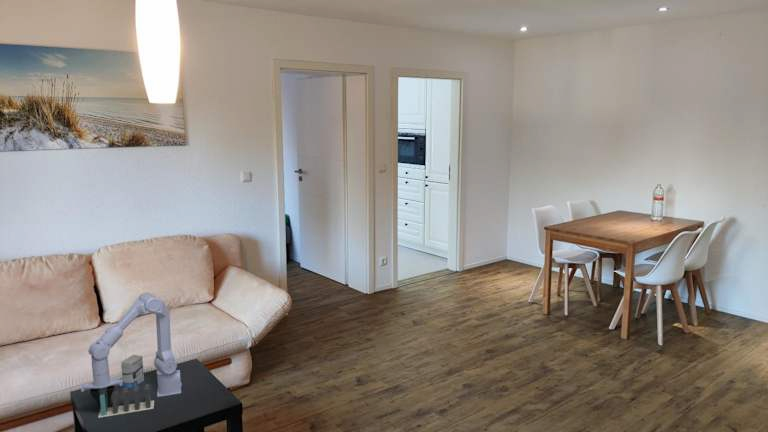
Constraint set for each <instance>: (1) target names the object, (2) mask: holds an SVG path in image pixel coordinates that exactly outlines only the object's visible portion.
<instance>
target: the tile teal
mask: <svg viewBox="0 0 768 432" xmlns="http://www.w3.org/2000/svg"><path fill="white" fill-rule="evenodd" d="M99 398H100V409H101V414H102V416H104V415H106V414H107V410H108V408H109V407H108V397H107V391H106V390H101V391H100V394H99Z"/></svg>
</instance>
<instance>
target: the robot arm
mask: <svg viewBox="0 0 768 432" xmlns="http://www.w3.org/2000/svg"><path fill="white" fill-rule="evenodd" d="M148 313H150V314H155V320H156V321H155V322H156V323H155V324H156V343H157V346H156V347H157V351H156V352H155V358H154V361H153V366H154V367H155V368H156V379H157V392H156V395H157V396H156V397H157V398H161V397H166V396H172V395H179V394H182V387H183V383H182V380H181V378H182V377H181V370H180V369H177V368H178V364H177V362H176V360H175V355H174V353H173V351H172V341H171V339H172V338H171V319H170V317H171V316H170V309H169V307H168V305H166V304H165V303H164V300H162V299H160V298H159V297H156V296H155V295H154V294H151V293H149V292H144V293H142V294H140V295H139V296H138V298H136V299H135V300H134V302H133V303H132V305H131V306H130V307H129V309H128V310H127V311H126V312H125V314H124V315H123V316H122V317H121V319H120V320H119V321H118V322H117V323H116V325H112V326H109V327H108V328H106V329H105V332H104V333H103V334H102V335H101V336H100V338H97V339H96V341H95V342H93V343H91V345H90V346H89V348H88V350H87V352H88V354H89V355H91V356H90V357H91V369H92V378H93V381H92V382H90V383H85V384H82V385H81V386H80V392H82V393H83V392H85V391H89V394H90V396H91V397H92V398H93V400H94V401H95V404H96V405H97V408H99V407H100V408H101V403H100V391H99V389H103V388H106V390H105V391H106V397H107V406H111V402H112V394H113V390H114V389H115V387H116V386H119V387H123V379H122V378H121V379H119V378H118V379H110V368H109V367H110V366H109V359H108V357H109V356H110V350H111V349H112V348H113V347H114V345H115V344H116V343H117V342H118V341H119V340H120V339H121V338H122V337H123V336H124V335H123V332H124V330H125V329H126V328H127V327H128V326H129V325H130V324H131V323H132V322H133V321H134V320H135V319H136V318H137V317H138V316H144V315H147V314H148Z"/></svg>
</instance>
